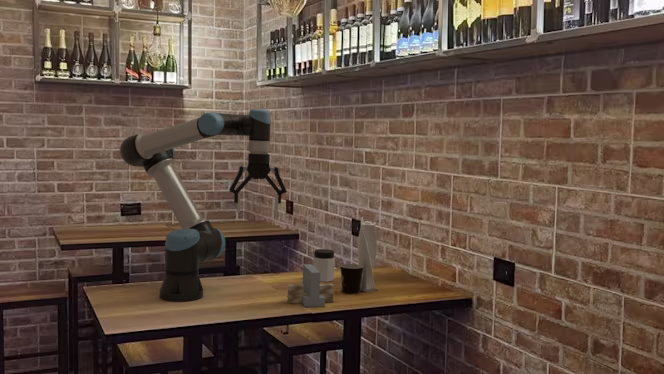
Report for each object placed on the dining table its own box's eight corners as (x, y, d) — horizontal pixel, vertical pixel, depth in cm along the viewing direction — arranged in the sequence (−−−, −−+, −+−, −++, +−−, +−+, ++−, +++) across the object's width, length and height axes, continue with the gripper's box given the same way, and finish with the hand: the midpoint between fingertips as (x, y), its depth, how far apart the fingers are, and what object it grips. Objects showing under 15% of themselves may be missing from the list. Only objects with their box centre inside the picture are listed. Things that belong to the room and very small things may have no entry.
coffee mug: (360, 295, 240) (361, 269, 239) (337, 293, 242) (338, 267, 241) (364, 288, 251) (365, 263, 250) (343, 286, 253) (344, 261, 252)
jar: (322, 276, 270) (323, 248, 269) (337, 279, 265) (338, 250, 264) (308, 279, 263) (309, 250, 262) (323, 282, 258) (324, 253, 257)
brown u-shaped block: (289, 303, 225) (289, 286, 225) (287, 301, 228) (288, 284, 228) (333, 302, 229) (333, 285, 229) (331, 299, 232) (331, 283, 232)
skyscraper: (350, 287, 252) (352, 216, 249) (365, 285, 257) (368, 215, 254) (364, 292, 245) (367, 219, 243) (379, 289, 250) (383, 218, 248)
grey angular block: (296, 296, 235) (297, 264, 234) (315, 296, 236) (316, 264, 235) (304, 307, 221) (306, 272, 220) (324, 306, 223) (325, 272, 222)
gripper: (291, 153, 235) (289, 211, 237) (222, 151, 229) (221, 210, 231) (295, 154, 228) (293, 213, 230) (224, 152, 222) (223, 213, 223)
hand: (257, 212), depth 230 cm, fingers open, 13 cm apart
